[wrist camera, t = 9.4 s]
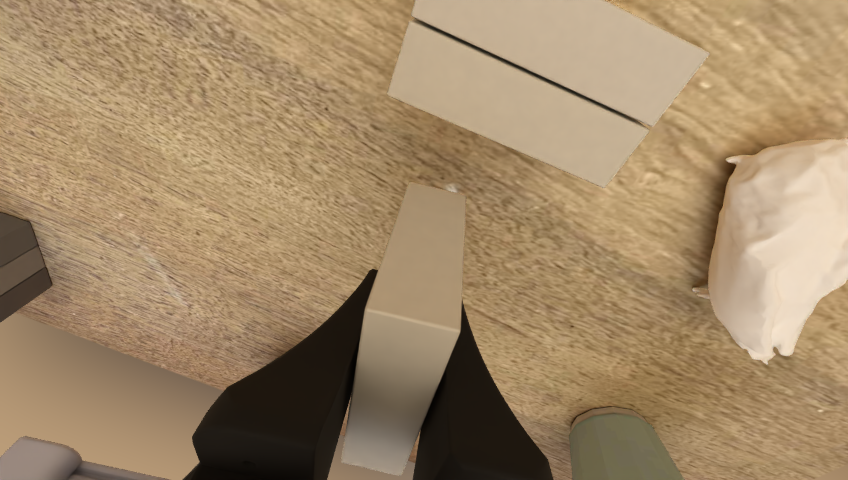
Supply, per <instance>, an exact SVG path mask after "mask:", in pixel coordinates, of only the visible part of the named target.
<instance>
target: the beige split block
mask: <svg viewBox="0 0 848 480" xmlns="http://www.w3.org/2000/svg"><path fill="white" fill-rule="evenodd" d="M411 16H412V17H414V18H415V19H413V20H411V21H409V22H408V26H407V29H406V32H405V35H404V39H403V42H402V45H401V49H400V52H399V55H398V59H397V62H396V65H395V68H394V72H393V75H392V78H391V82H390V85H389V88H388V91H387V95H388V96H389V97H392V98H394V99H396V100H399V101H401V102H403V103H406V104H408V105H410V106H413V107H415V108H417V109H420V110H422V111H424V112H427V113H429V114H431V115H434V116H436V117H439V118H441V119H443V120H446V121H448V122H450V123H453V124H455V125H457V126H460V127H462V128H464V129H467V130H469V131H471V132H474V133H476V134H478V135H481V136H483V137H485V138H488V139H490V140H492V141H495V142H497V143H499V144H502V145H504V146H506V147H509V148H511V149H513V150H516V151H518V152H520V153H523V154H525V155H527V156H530V157H532V158H534V159H537V160H539V161H541V162H544V163H546V164H548V165H551V166H553V167H555V168H558V169H560V170H562V171H565V172H567V173H569V174H572V175H574V176H576V177H579V178H581V179H584V180H586V181H588V182H591V183H593V184H595V185H598V186H600V187H602V188H605V187H606V186H607V185H608V184H609V182H610V181H611V180H612V179H613V177H614V176H615V175H616V173H617V172H618V171H619V170H620V168H621V167H622V166H623V164H624V163H625V162H626V161H627V159H628V158H629V157H630V156H631V154H632V153H633V152H634V150H635V149H636V148H637V147H638V145H639V144H640V143H641V141H642V140H643V139H644V138H645V136H646V135H647V134H648V132H649V130H648V129H647V128H646V127H645V126H644V125H642V124H641V123H640V122H642V123H645V124H647V125H649V126H654V125H655V124H656V122H657V121H658V120H659V119H660V117H661V116H662V115H663V114H664V112H665V111H666V110H667V108H668V107H669V106H670V105H671V103H672V102H673V101H674V99H675V98H676V97H677V96H678V94H679V93H680V92H681V91H682V89H683V88H684V87H685V85H686V84H687V83H688V82H689V80H690V79H691V78H692V76H693V75H694V74H695V73H696V71H697V70H698V69H699V67H700V66H701V65H702V64H703V62H704V61H705V60H706V59H707V57H708V56H709V54H710V53H709V52H708V51H706V50H704V49H702V48H700V47H698V46H696V45H694V44H692V43H690V42H688V41H686V40H684V39H682V38H680V37H678V36H676V35H674V34H672V33H670V32H668V31H666V30H664V29H662V28H660V27H658V26H656V25H654V24H652V23H650V22H648V21H646V20H644V19H642V18H640V17H638V16H636V15H634V14H632V13H630V12H627V11H625V10H623V9H621V8H619V7H617V6H615V5H613V4H611V3H609V2H607V1H605V0H415V2H414V6H413V9H412V12H411ZM639 121H640V122H639Z"/></svg>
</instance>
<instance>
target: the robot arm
mask: <svg viewBox="0 0 848 480" xmlns="http://www.w3.org/2000/svg"><path fill="white" fill-rule="evenodd" d="M377 272H378V270H375V269H372V270H370V271H369V272H368V274H367V276H366V277H365V279H364V280H363V281H362V283H361V284H360V285H359V286H358V288H357V289H356V290H355V291H354V293H353V294H352V295H351V296H350V297H349V298H348V299H347V300H346V301H345V303H344V304H343V305H342V306H341V307H340V308H339V309H338V310H337V311H336V312H335V313H334V314H333V315H332V316H331V317H330V318H329V319H328V320H327V321H325V322H324V323H323V324H322V325H321V326H320V327H319V328H318V329H316V330H315V331H314V332H313V333H312V334H310V335H309V336H308V337H307V338H305V339H304V340H303V341H301V342H300V343H299V344H297V345H296V346H295V347H293V348H292V349H290V350H289V351H288V352H286V353H285V354H283V355H282V356H280V357H279V358H277V359H275V360H274V361H272V362H271V363H269V364H268V365H266V366H264V367H263V368H261V369H260V370H258V371H256V372H254V373H252V374H251V375H249V376H247V377H245V378H243V379H241V380H240V381H238V382H236V383H234V384H232V385H230V386H229V387H227V388H226V390H225V391H224V392H223V393H222V394H221V395H220V396H219V397H218V399H217V400H216V401H215V402H214V404H213V405H212V406H211V407H210V409H209V410H208V412H207V413H206V415H205V416H204V418H203V420H202V421H201V423H200V425H199V426H198V428H197V429H196V431H195V433H194V434H193V436H192V440H193V445H194V448H195V450H196V453H197V456H198V458H199V461H200V464H199V466H198V468H197V470H196V471H195V473H194V475H193V476H192V478H191V480H327V478H328V474H329V470H330V467H331V463H332V459H333V456H334V452H335V449H336V445H337V442H338V438H339V435H340V431H341V428H342V424H343V421H344V417H345V414H346V410H347V407H348V403H349V400H350V397H351V393H352V388H353V382H354V375H355V369H356V363H357V356H358V350H359V343H360V337H361V331H362V324H363V318H364V311H365V307H366V304H367V301H368V299H369V296H370V293H371V290H372V287H373V284H374V281H375V278H376V275H377ZM0 480H169V479H165V478H160V477H155V476H151V475H146V474H141V473H137V472H133V471H128V470H124V469H119V468H114V467H109V466H105V465H100V464H96V463H91V462H87V461H82V459H81V456H80V454H79V453H78V452H77V451H76V450H74V449H73V448H70V447H69V446H66V445H63V444H59V443H55V442H50V441H45V440H41V439H37V438H32V437H27V436H24V437H21V438H19V439H18V440H17V441H16V442H15V443H14V444H13V445H12V446H11V447H10V448H9V449H8V450H7V451H6V452H5V453H4V454H3V455H2V456H1V457H0ZM413 480H553V477H552V473H551V469H550V466H549V462H548V459H547V458H546V457H545V455H544V454H543V453H542V452H541V450H540V449H539V448H538V447H537V445H536V444H535V443H534V442H533V440H532V439H531V438H530V437H529V435H528V434H527V433H526V431H525V430H524V428H523V427H522V426H521V424H520V423H519V421H518V420H517V418H516V417H515V415H514V414H513V412H512V411H511V409H510V408H509V406H508V404H507V403H506V401H505V400H504V398H503V397H502V395H501V393H500V392H499V390H498V388H497V386H496V384H495V383H494V381H493V379H492V377H491V375H490V373H489V371H488V369H487V367H486V365H485V363H484V361H483V359H482V356H481V354H480V352H479V349H478V347H477V344H476V342H475V339H474V336H473V334H472V331H471V328H470V325H469V322H468V319H467V316H466V312H465V309H464V305H463V301H462V309H461V331H460V334H459V336H458V339H457V341H456V344H455V346H454V349H453V351H452V353H451V356H450V358H449V361H448V363H447V366H446V368H445V371H444V373H443V375H442V378H441V380H440V383H439V385H438V388H437V390H436V393H435V395H434V397H433V400H432V402H431V405H430V407H429V410H428V412H427V415H426V417H425V419H424V422H423V424H422V427H421V431H420V438H419V444H418V451H417V457H416V463H415V469H414V475H413Z"/></svg>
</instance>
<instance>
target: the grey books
mask: <svg viewBox="0 0 848 480" xmlns="http://www.w3.org/2000/svg"><path fill="white" fill-rule="evenodd" d="M36 245H38V244H37V241H36V238H35V236H34V233H33V230H32V227H31V224H30V222H27V221H24V220H21V219H18V218H15V217H12V216H9V215H7V214H4V213H1V212H0V322H2V321H3V320H4V319H6V318H7V317H9V316H10V315H12V314H13V313H15V312H16V311H17V310H19V309H20V308H22V307H23V306H24V305H26V304H27V303H29V302H30V301H32V300H33V299H34V298H36V297H37V296H39V295H40V294H41V293H43V292H44V291H46V290H47V289H49V288H50V287H51V286H52V284H51V281H50V278H49V275H48V273H47V270H46V268H45V264H44V261H43V258H42V255H41V253H40V250H39V247H38V246H36Z"/></svg>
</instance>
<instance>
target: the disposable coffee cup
mask: <svg viewBox="0 0 848 480" xmlns="http://www.w3.org/2000/svg"><path fill="white" fill-rule="evenodd" d="M569 441H570V454H571V466H572V479H573V480H684V478H683V476H682V475H681V473H680V471H679V470H678V468H677V467H676V465H675V463H674V462H673V460H672V458H671V457H670V455H669V453H668V452H667V450H666V448H665V447H664V445H663V443H662V442H661V440H660V438H659V437H658V435H657V433H656V432H655V430H654V428H653V427H652V426H651V425H650V424H648V423H647V422H646V420H645V418H644V417H642V416H641V415H639V414H637V413H636V412H634V411H633V410H630V409H623V408H617V407H606V408H599V409H592V410H590V411H588V412H586V413H584V414H582V415H580V416H578V417H577V418H576V419H575V421H574V422H573V424H572V425H571V433H570V434H569Z"/></svg>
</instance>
